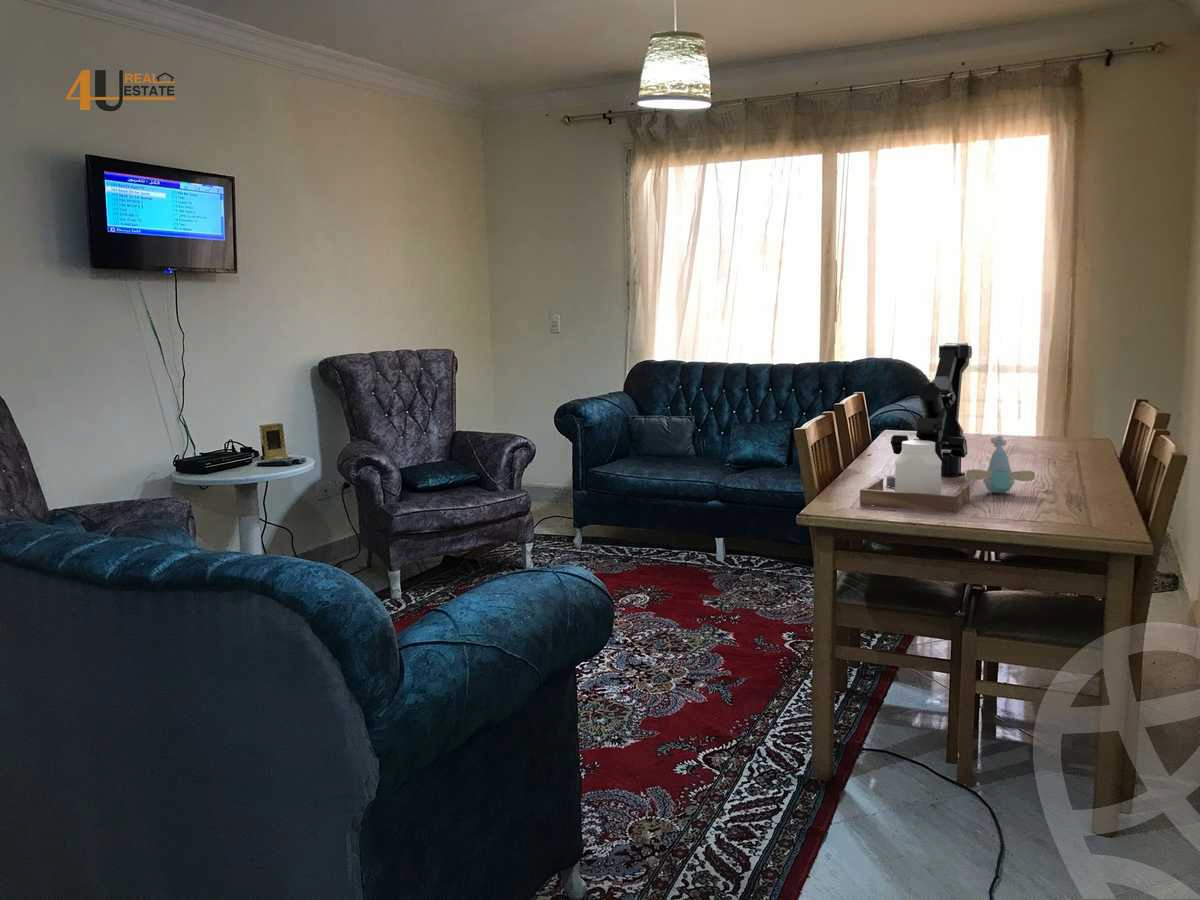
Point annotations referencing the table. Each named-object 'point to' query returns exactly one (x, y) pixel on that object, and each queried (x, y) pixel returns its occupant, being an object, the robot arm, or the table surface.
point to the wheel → (891, 481)
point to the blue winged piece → (999, 470)
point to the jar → (918, 468)
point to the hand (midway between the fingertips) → (922, 471)
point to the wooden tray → (913, 498)
